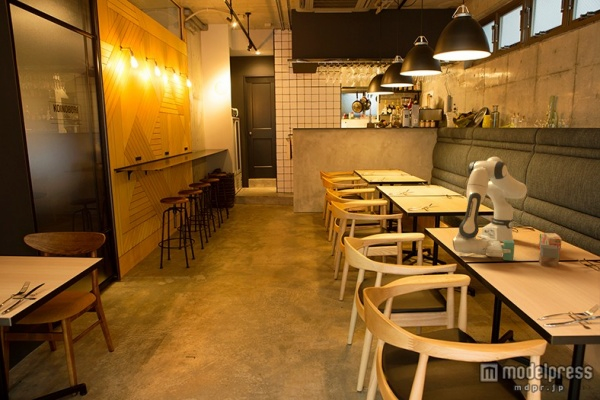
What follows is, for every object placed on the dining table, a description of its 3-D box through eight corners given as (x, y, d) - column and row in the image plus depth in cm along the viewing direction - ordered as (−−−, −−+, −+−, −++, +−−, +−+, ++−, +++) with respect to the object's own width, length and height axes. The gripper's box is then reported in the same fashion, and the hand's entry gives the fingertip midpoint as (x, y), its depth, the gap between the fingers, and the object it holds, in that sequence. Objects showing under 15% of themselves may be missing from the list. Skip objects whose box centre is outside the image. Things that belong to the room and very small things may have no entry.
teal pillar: (503, 259, 231) (504, 242, 230) (502, 257, 236) (503, 239, 234) (513, 260, 230) (514, 243, 228) (512, 258, 234) (513, 240, 232)
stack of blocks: (538, 248, 255) (540, 229, 253) (550, 249, 253) (552, 229, 251) (547, 259, 235) (549, 237, 233) (559, 259, 233) (562, 238, 231)
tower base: (540, 266, 224) (541, 257, 223) (538, 261, 231) (539, 253, 230) (558, 267, 220) (558, 258, 220) (555, 263, 228) (556, 254, 227)
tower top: (542, 257, 223) (543, 247, 222) (540, 253, 229) (540, 244, 228) (557, 258, 220) (558, 249, 220) (554, 254, 227) (555, 245, 226)
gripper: (484, 246, 226) (512, 249, 221) (482, 237, 245) (509, 239, 240) (483, 257, 228) (511, 260, 222) (482, 247, 246) (508, 249, 241)
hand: (510, 249), depth 231 cm, fingers closed on teal pillar, 5 cm apart
